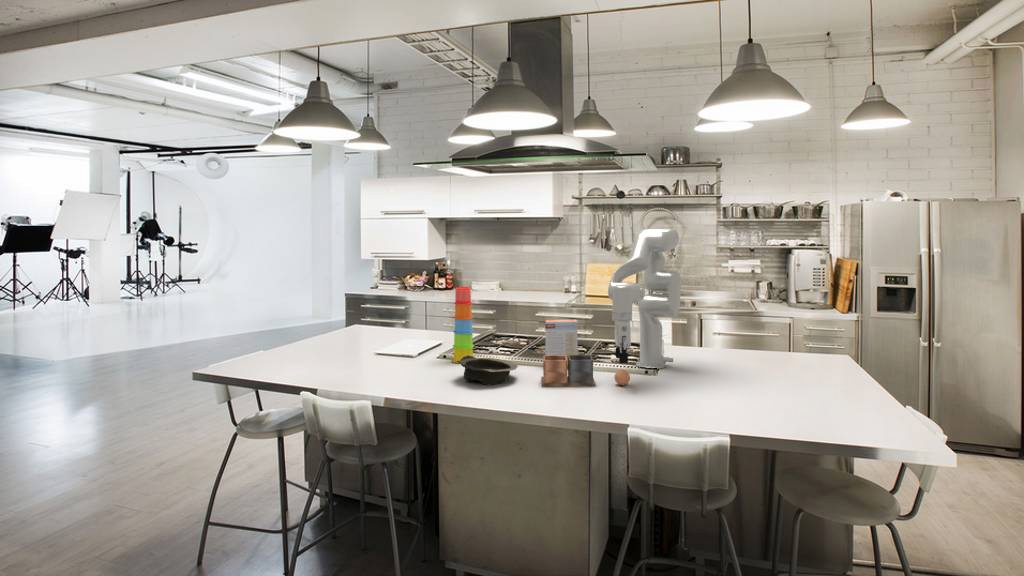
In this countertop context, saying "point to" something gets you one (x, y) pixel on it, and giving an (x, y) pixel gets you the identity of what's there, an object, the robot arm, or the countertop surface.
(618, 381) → the ball
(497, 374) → the stone bowl
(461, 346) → the stacking cups
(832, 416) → the countertop surface
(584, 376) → the double bin organizer
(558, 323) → the cracker box
